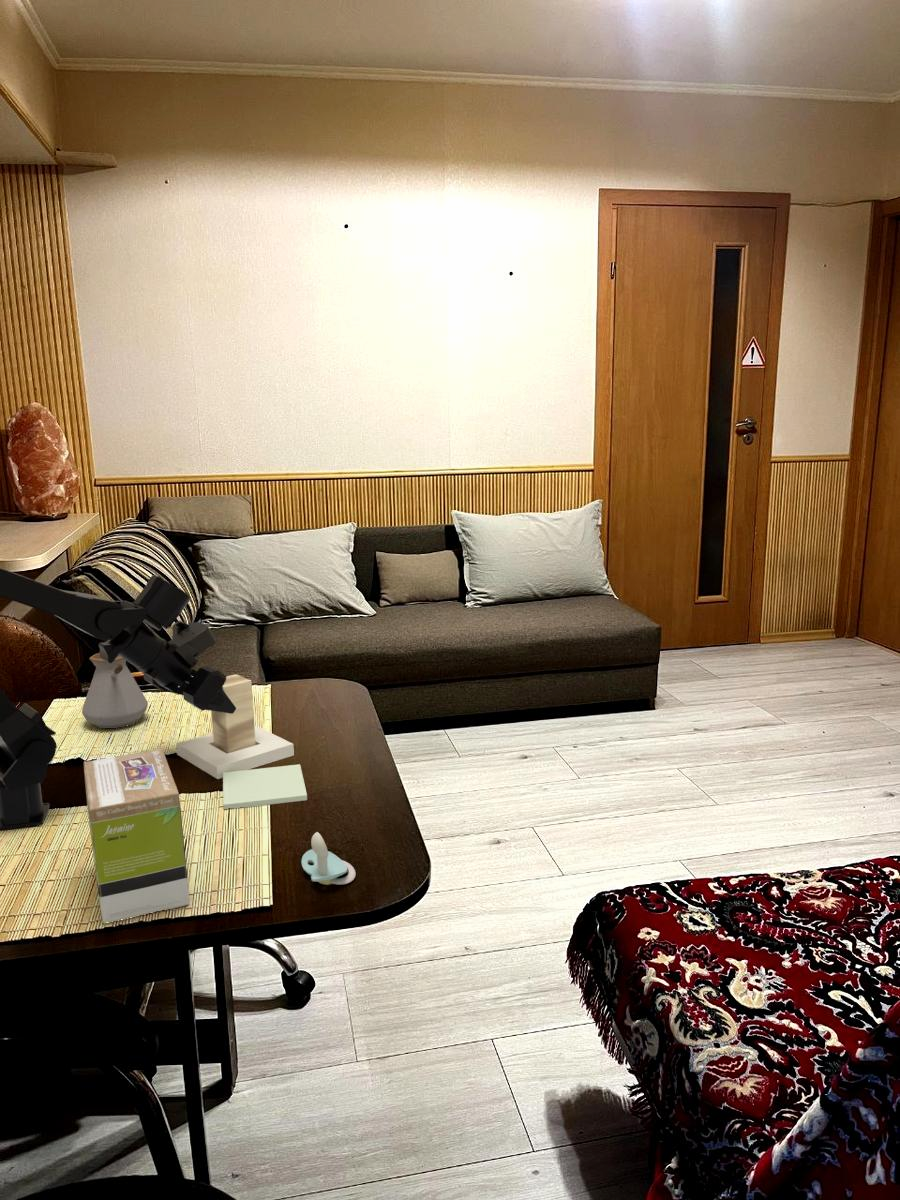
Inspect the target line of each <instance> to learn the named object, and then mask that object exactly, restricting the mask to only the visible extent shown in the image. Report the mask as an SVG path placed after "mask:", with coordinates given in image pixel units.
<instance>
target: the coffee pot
mask: <svg viewBox="0 0 900 1200" xmlns="http://www.w3.org/2000/svg"><path fill="white" fill-rule="evenodd" d="M89 661H91V663H92V664H93V666H95V670H94V673H93V677H92V679H91V683H90V685H89V688H88V691H87V693H86V697H85V700H84V703H83V706H82V710H81V711H82V712H81V714H82V716H83V718H84V719H85V720H86V721H87V722H89V723H90V724H93V725H94V724H95V725H96V726H97V727H96V726H95V725H94V726H95V727H96V728H98V727H99V728H98V729H102V728H116V729H118V728H117V727H122V728H124V727H123V726H126V727H128V726H127V725H130V724H132V725H134V724H136V723H137V722H138V721H139V720H138V719H140V718H142V716H143V715H144V713H146V711H147V709H148V706H149V705H148V704H149V703H148V701H147V697H145V695H144V694H143V692H142V690H141V688H140V686H139V685H138V683H137V681H136V679H135V678H134V676H133V674H132V672H131V671H130V669H129V668H128V666H127V661H126V660H125V659H124V658H122V657H121V656H119V655H118V656H117V657H116V659H115V660H114V661H113V662H112V663H108V662H106V661H104V660H102V659H100V652H98V653H95V654H93V655H92V656H90V657H89ZM137 720H138V721H137ZM135 722H136V723H135ZM133 723H134V724H133ZM130 726H131V725H130Z"/></svg>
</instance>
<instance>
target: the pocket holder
mask: <svg viewBox="0 0 900 1200" xmlns="http://www.w3.org/2000/svg"><path fill="white" fill-rule="evenodd" d="M254 728H255V743H256V745H255V746H251V747H248V748H245V749H241V750H238V751H235V752H231V753H228V754H227V753H225V752H223V751H221V750H219V749H218V748H216V747H214V740H213V732H212V733H208V734H206V735H201V736H197V737H194V738H191V739H187V740H183V741H181V742H177V743H176V744H175V745H176V755H177V756H179V757H180V758H182V759H184V760H185V761H187V762H188V763H190V764H192V765H194V766H195V767H197V768H199V769H200V770H201V771H203V772H205V773H207V774H208V775H210V776H211V777H213V778H215V779H217V780H220V779H223V773H224V772H234V771H243V770H252V769H256V768H257V767H261V766H264V765H267V764H271V763H273V762H277V761H281V760H283V759H287V758H290V757H293V756H295V751H294V750H295V748H294V746H295V745H294V743H292V742H290V741H288V740H286V739H284V738H283V737H280V736H278V735H276V734H273V733H272V732H270V731H268V730H266V729H264V728H262V727H260V726H258V725H255V724H254Z"/></svg>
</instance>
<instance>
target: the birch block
mask: <svg viewBox="0 0 900 1200" xmlns="http://www.w3.org/2000/svg"><path fill="white" fill-rule="evenodd" d="M252 685H253V684H252V680H251V679H248V678H246V677H244V676H242V675H239V674H231V675H228V676H226V681H225V683H224V685H223V690H224V692H225V693H226V695H227V696H228V697H229V699H230V700H231V702H232V703H233V704H234V706H235V707H236V710H235V711H234V713H233V714H230V713H224V712H217V711H210V713H211V724H212V733H213V740H214V747H216V748H218V749H219V750H221V751H223V752H225V753H227V754H228V753H231V752H235V751H238V750H241V749H245V748H248V747H251V746H255V745H256V743H255V728H254V725H255V716H254V715H255V714H254V713H255V712H254V699H253V686H252Z"/></svg>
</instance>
